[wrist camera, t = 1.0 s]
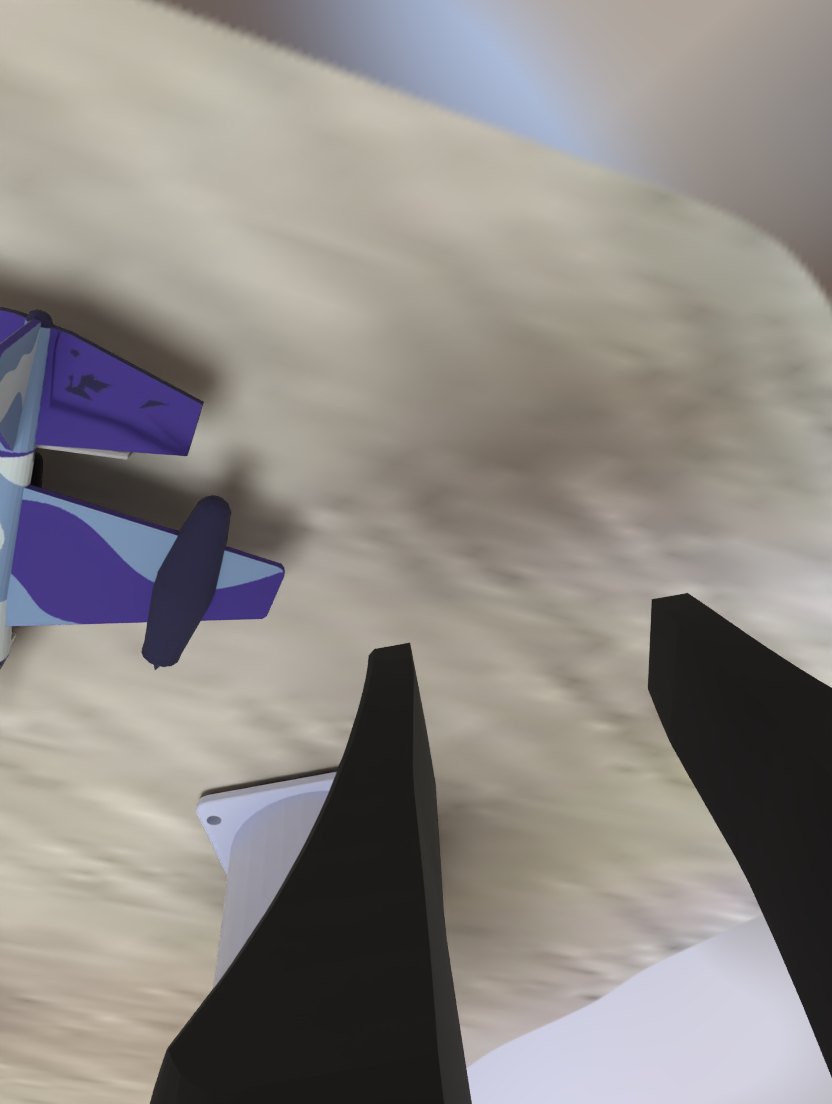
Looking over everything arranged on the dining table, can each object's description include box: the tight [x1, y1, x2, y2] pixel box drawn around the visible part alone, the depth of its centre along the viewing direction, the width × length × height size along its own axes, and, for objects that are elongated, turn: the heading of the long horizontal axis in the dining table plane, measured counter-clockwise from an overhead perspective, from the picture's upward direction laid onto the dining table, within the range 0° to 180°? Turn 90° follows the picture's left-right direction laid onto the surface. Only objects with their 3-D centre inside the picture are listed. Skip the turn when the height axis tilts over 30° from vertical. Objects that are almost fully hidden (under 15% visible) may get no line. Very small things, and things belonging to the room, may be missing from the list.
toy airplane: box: [0, 307, 285, 670], centre depth 19 cm, size 13×14×4 cm
